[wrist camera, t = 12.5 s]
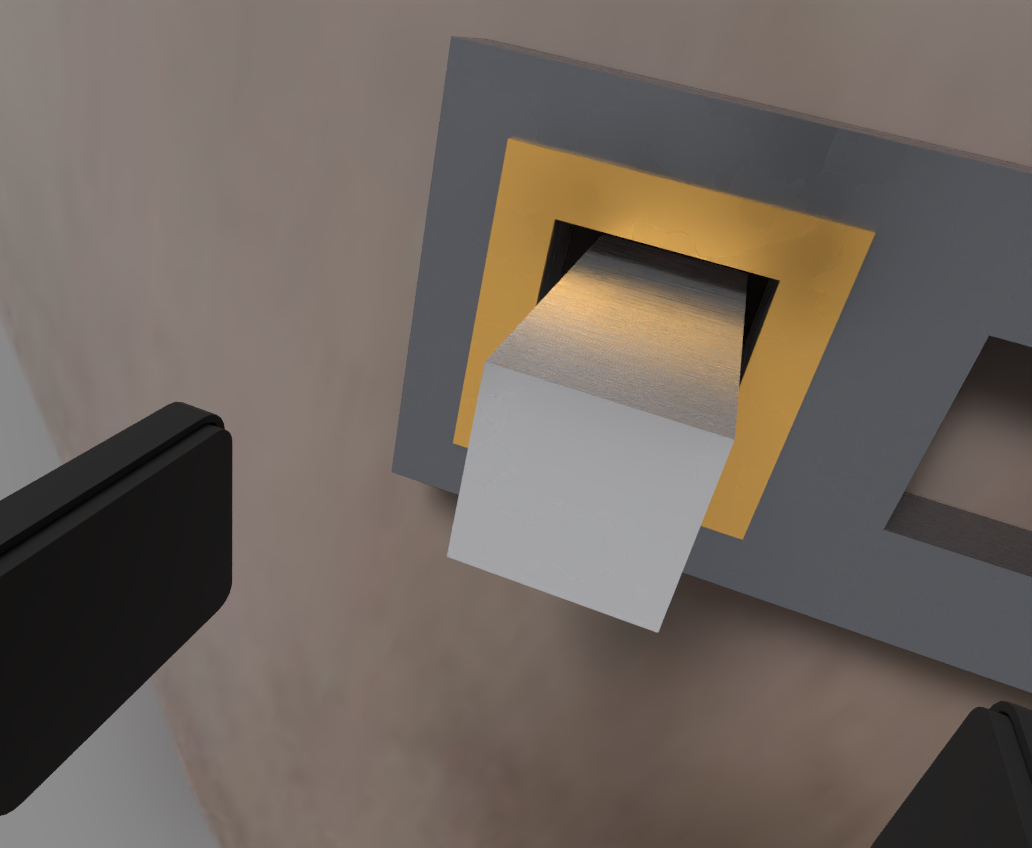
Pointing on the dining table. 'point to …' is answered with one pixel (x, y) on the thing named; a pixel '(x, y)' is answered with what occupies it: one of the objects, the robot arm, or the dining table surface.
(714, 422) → the steel peg
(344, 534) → the dining table surface
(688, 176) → the rail
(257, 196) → the dining table surface
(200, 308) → the dining table surface
